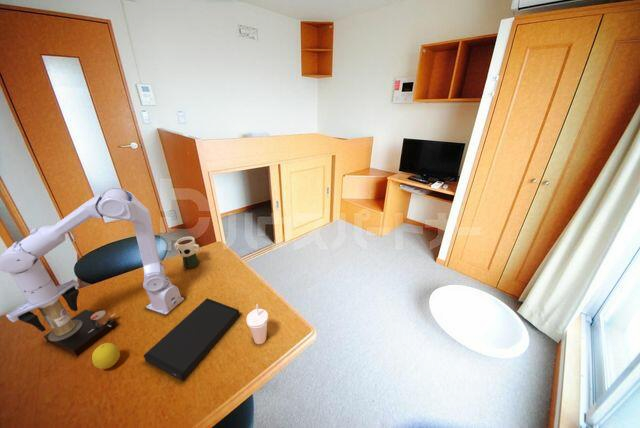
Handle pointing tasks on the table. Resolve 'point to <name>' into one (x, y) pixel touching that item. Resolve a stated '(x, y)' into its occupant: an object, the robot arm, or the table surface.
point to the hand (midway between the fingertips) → (59, 319)
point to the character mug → (188, 251)
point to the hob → (83, 334)
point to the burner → (55, 338)
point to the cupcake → (99, 319)
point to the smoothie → (258, 324)
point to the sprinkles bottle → (57, 317)
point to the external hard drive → (192, 339)
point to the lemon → (105, 355)
